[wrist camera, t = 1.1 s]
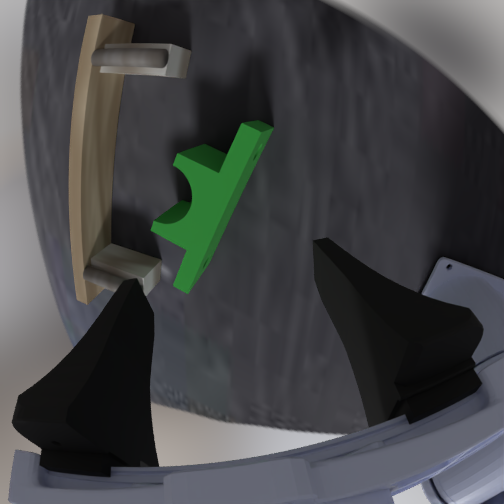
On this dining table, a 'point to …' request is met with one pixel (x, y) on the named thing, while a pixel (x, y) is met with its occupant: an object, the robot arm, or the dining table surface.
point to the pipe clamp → (210, 198)
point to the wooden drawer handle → (107, 152)
